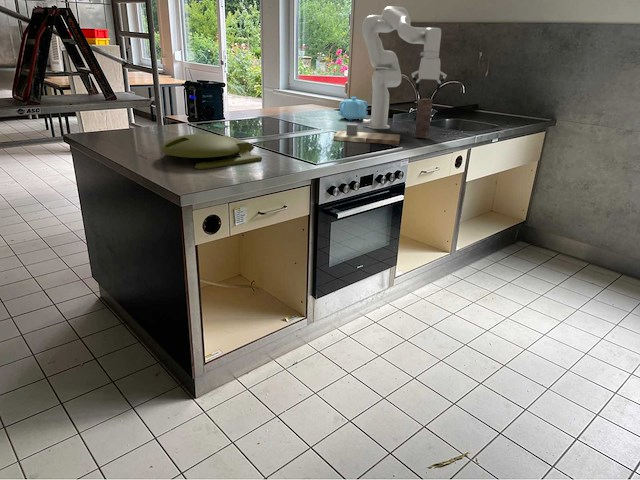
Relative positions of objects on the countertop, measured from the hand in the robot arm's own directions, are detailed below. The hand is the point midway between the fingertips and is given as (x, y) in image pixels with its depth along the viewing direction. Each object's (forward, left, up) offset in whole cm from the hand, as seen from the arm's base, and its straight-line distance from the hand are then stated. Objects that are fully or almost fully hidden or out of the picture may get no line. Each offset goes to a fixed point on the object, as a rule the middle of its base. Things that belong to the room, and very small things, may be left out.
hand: (427, 91), depth 243 cm
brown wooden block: (0, 0, -24) cm, 24 cm away
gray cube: (-35, -14, -21) cm, 43 cm away
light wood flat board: (-27, -14, -23) cm, 38 cm away
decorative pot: (-42, +50, -24) cm, 70 cm away
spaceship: (-86, -78, -24) cm, 119 cm away
